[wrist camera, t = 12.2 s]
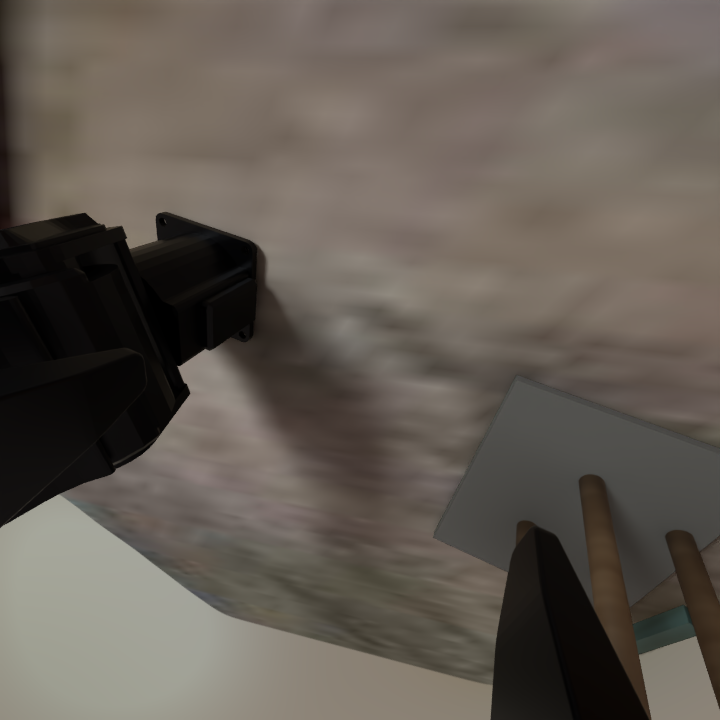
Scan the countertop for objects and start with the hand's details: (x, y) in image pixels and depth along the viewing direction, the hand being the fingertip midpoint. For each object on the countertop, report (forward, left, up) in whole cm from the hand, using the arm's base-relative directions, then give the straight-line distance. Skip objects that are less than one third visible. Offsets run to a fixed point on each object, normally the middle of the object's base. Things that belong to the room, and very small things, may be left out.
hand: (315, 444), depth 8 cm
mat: (+11, -11, -13) cm, 21 cm away
